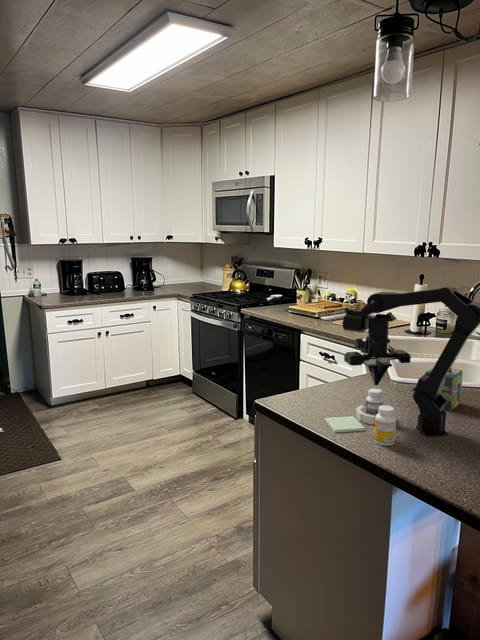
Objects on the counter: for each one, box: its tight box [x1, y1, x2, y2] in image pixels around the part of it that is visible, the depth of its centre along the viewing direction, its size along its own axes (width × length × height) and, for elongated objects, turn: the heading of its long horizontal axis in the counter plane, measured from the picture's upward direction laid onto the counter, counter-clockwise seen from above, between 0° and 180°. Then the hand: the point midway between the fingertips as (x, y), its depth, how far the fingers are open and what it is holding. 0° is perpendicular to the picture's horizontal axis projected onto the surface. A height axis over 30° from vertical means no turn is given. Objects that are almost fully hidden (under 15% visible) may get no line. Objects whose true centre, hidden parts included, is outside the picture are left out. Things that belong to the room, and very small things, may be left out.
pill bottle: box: [365, 388, 385, 417], centre depth 145 cm, size 5×5×9 cm
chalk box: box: [424, 360, 463, 412], centre depth 156 cm, size 9×9×15 cm
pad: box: [324, 415, 366, 434], centre depth 141 cm, size 9×9×1 cm
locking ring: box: [355, 405, 375, 426], centre depth 146 cm, size 10×10×2 cm
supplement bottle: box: [373, 404, 397, 446], centre depth 129 cm, size 5×5×10 cm
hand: (375, 385), depth 144 cm, fingers closed
